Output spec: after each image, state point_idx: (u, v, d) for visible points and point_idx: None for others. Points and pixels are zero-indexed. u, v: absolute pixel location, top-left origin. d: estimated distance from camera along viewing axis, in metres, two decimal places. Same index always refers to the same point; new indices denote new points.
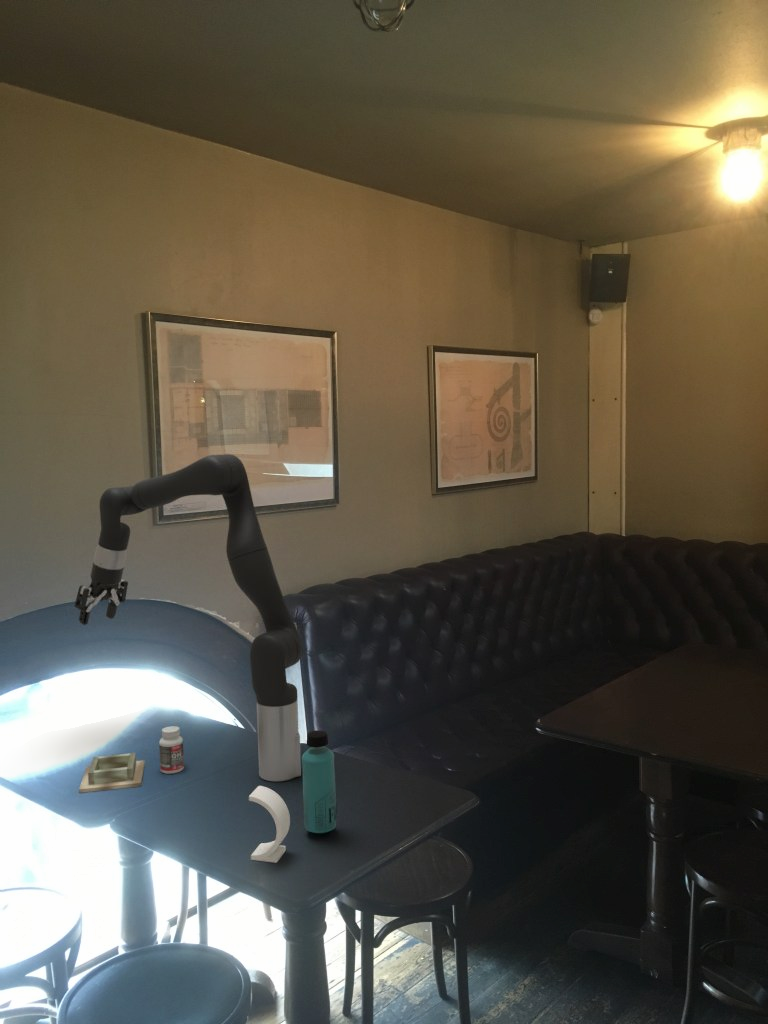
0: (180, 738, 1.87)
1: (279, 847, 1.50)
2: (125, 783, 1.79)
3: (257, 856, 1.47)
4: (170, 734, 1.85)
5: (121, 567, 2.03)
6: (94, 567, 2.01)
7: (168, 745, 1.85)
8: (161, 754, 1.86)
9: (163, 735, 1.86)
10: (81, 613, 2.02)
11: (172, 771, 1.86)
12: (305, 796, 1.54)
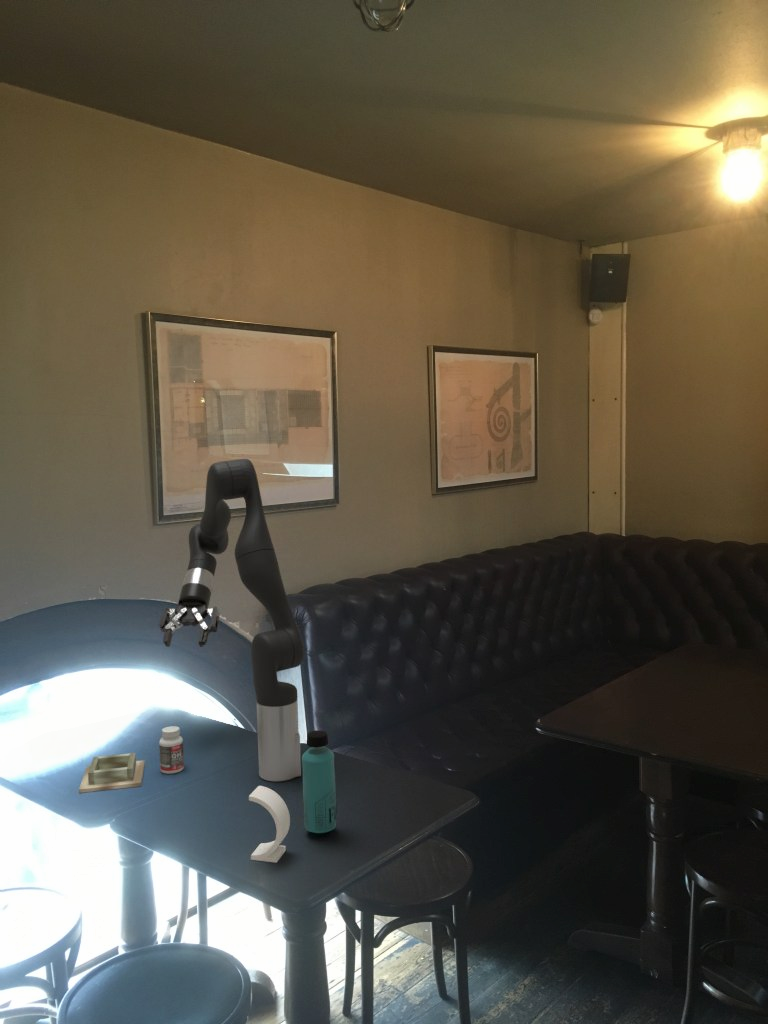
0: (180, 738, 1.87)
1: (279, 847, 1.50)
2: (125, 783, 1.79)
3: (257, 856, 1.47)
4: (170, 734, 1.85)
5: (196, 581, 2.05)
6: None
7: (168, 745, 1.85)
8: (161, 754, 1.86)
9: (163, 735, 1.86)
10: None
11: (172, 771, 1.86)
12: (305, 796, 1.54)
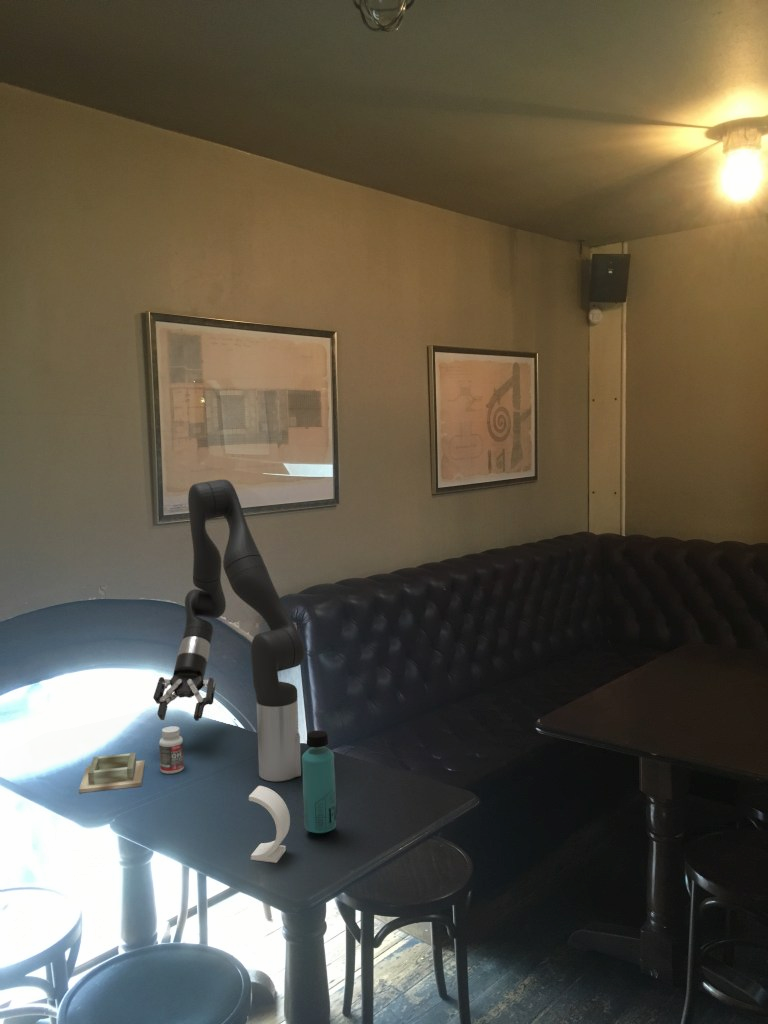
0: (180, 738, 1.87)
1: (279, 847, 1.50)
2: (125, 783, 1.79)
3: (257, 856, 1.47)
4: (170, 734, 1.85)
5: (191, 651, 2.00)
6: None
7: (168, 745, 1.85)
8: (161, 754, 1.86)
9: (163, 735, 1.86)
10: None
11: (172, 771, 1.86)
12: (305, 796, 1.54)
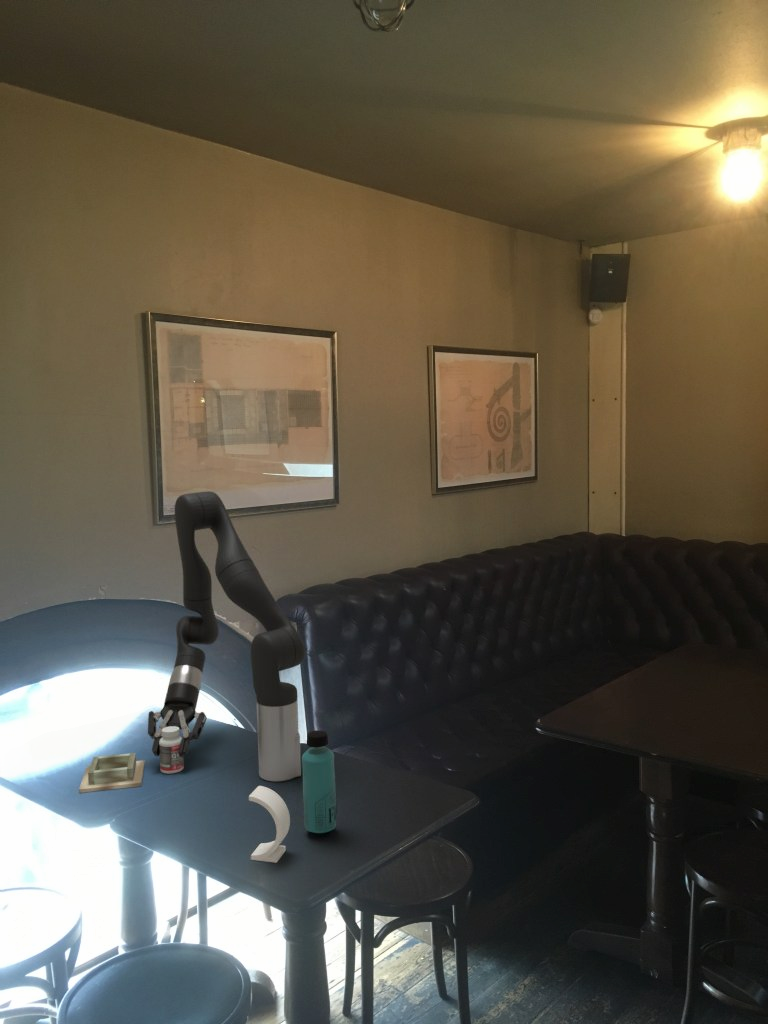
0: (180, 738, 1.87)
1: (279, 847, 1.50)
2: (125, 783, 1.79)
3: (257, 856, 1.47)
4: (170, 733, 1.85)
5: (183, 681, 1.94)
6: None
7: (168, 745, 1.85)
8: (161, 754, 1.86)
9: (163, 735, 1.86)
10: None
11: (172, 771, 1.85)
12: (305, 796, 1.54)
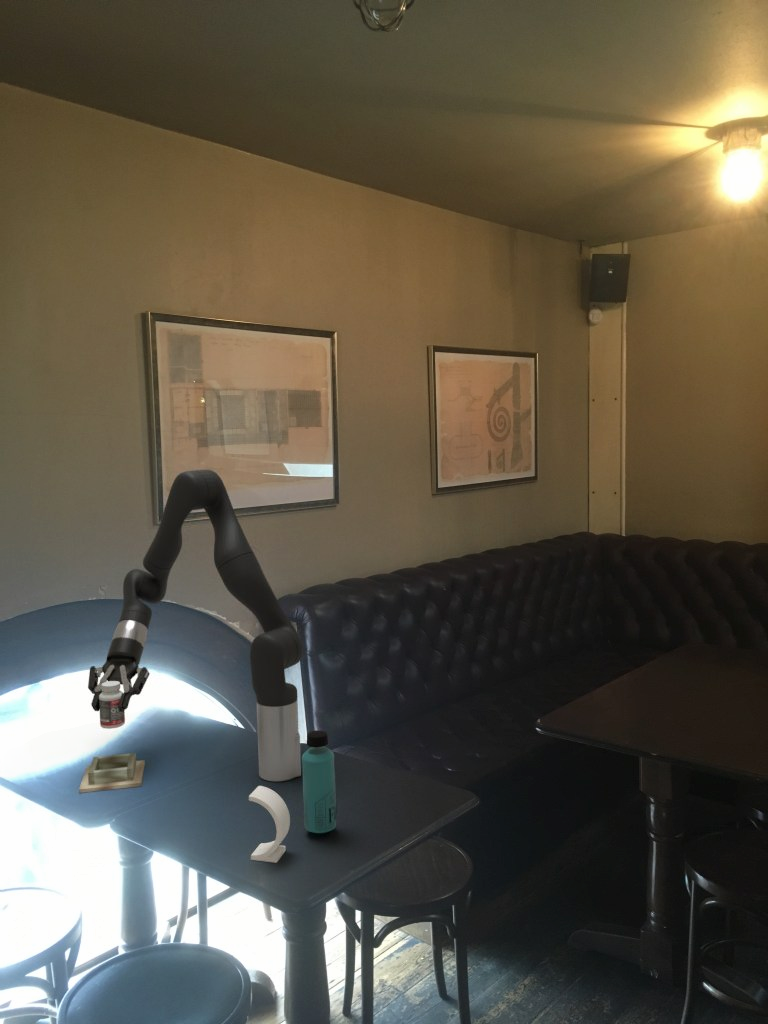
0: (120, 693, 1.83)
1: (279, 847, 1.50)
2: (125, 783, 1.79)
3: (257, 856, 1.47)
4: (109, 688, 1.81)
5: (126, 636, 1.89)
6: None
7: (107, 699, 1.81)
8: (100, 708, 1.82)
9: (102, 689, 1.82)
10: None
11: (111, 726, 1.81)
12: (305, 796, 1.54)
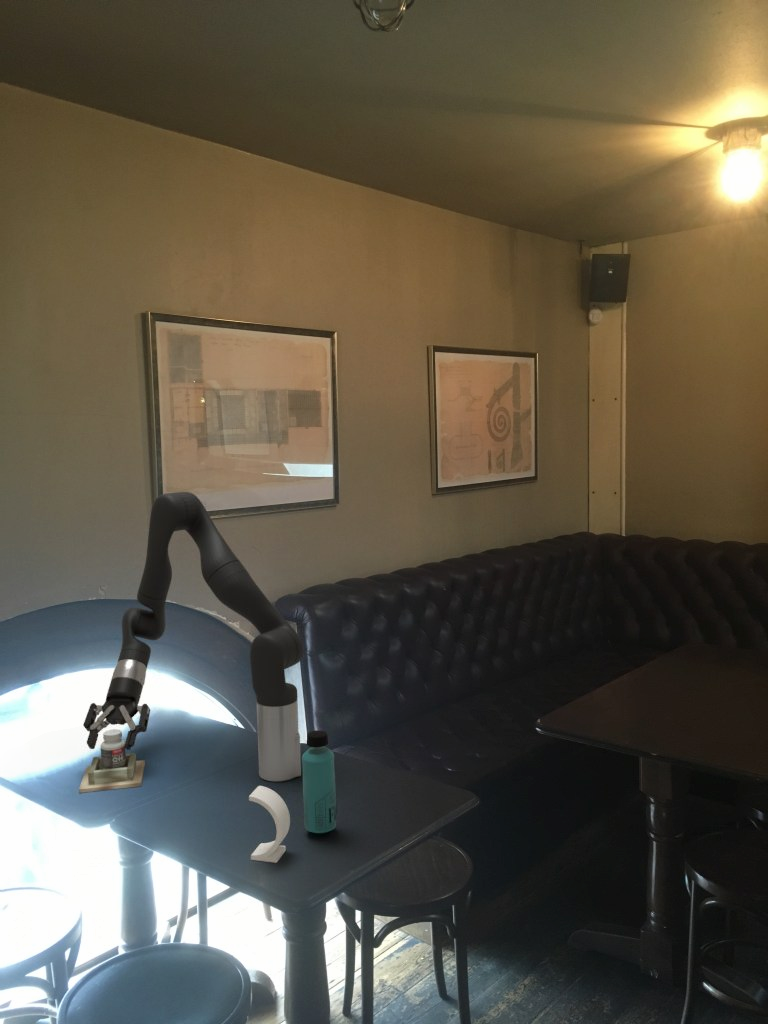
0: (122, 741, 1.84)
1: (279, 847, 1.50)
2: (125, 783, 1.79)
3: (257, 856, 1.47)
4: (111, 737, 1.82)
5: (125, 675, 1.90)
6: None
7: (109, 748, 1.81)
8: (102, 758, 1.82)
9: (104, 738, 1.82)
10: None
11: None
12: (305, 796, 1.54)
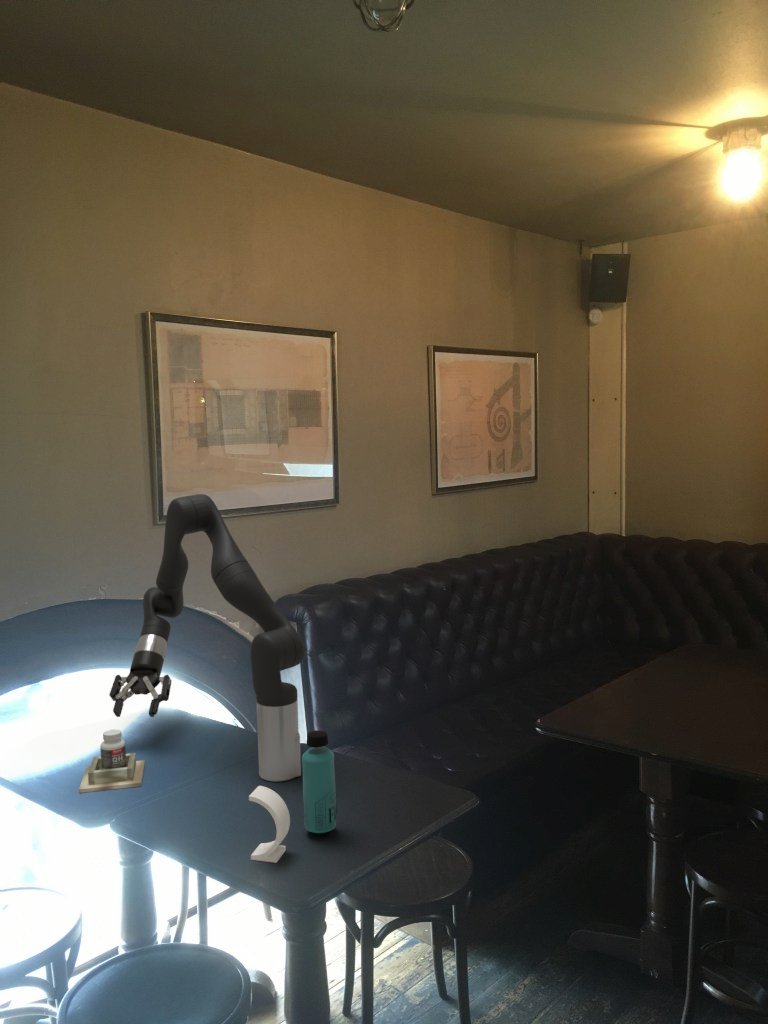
0: (122, 741, 1.84)
1: (279, 847, 1.50)
2: (125, 783, 1.79)
3: (257, 856, 1.47)
4: (110, 737, 1.82)
5: (148, 649, 2.03)
6: None
7: (109, 748, 1.81)
8: (102, 758, 1.82)
9: (104, 738, 1.82)
10: None
11: None
12: (305, 796, 1.54)
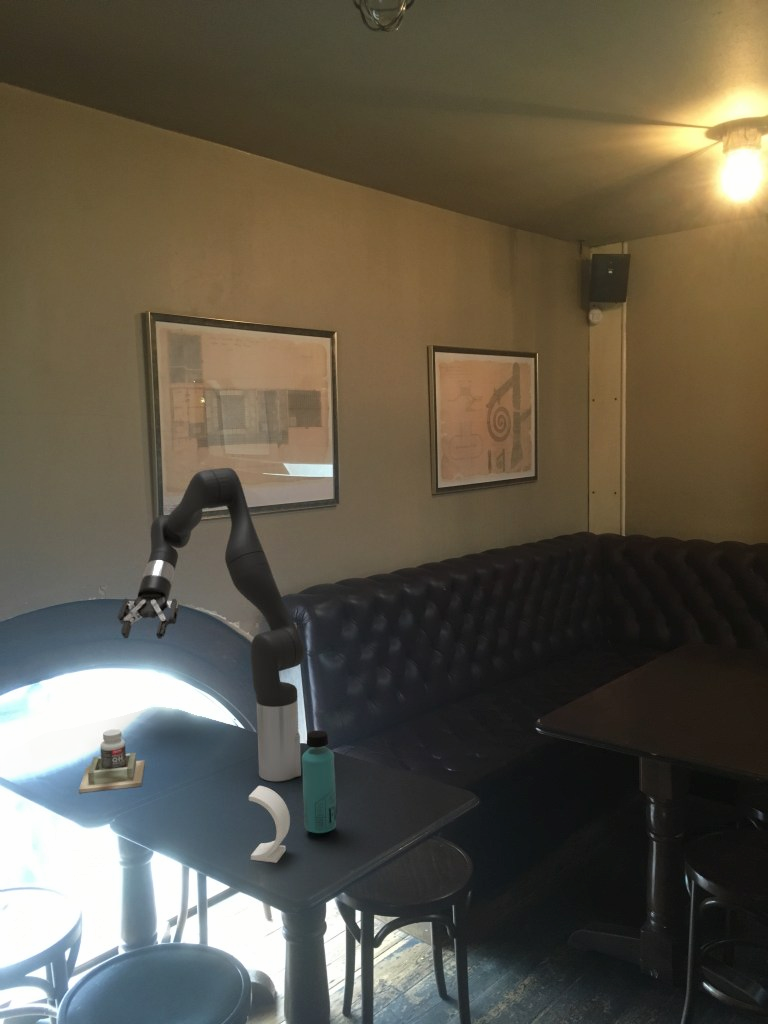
0: (122, 741, 1.84)
1: (279, 847, 1.50)
2: (125, 783, 1.79)
3: (257, 856, 1.47)
4: (110, 737, 1.82)
5: (155, 574, 2.05)
6: None
7: (109, 748, 1.81)
8: (102, 758, 1.82)
9: (104, 738, 1.82)
10: None
11: None
12: (305, 796, 1.54)
